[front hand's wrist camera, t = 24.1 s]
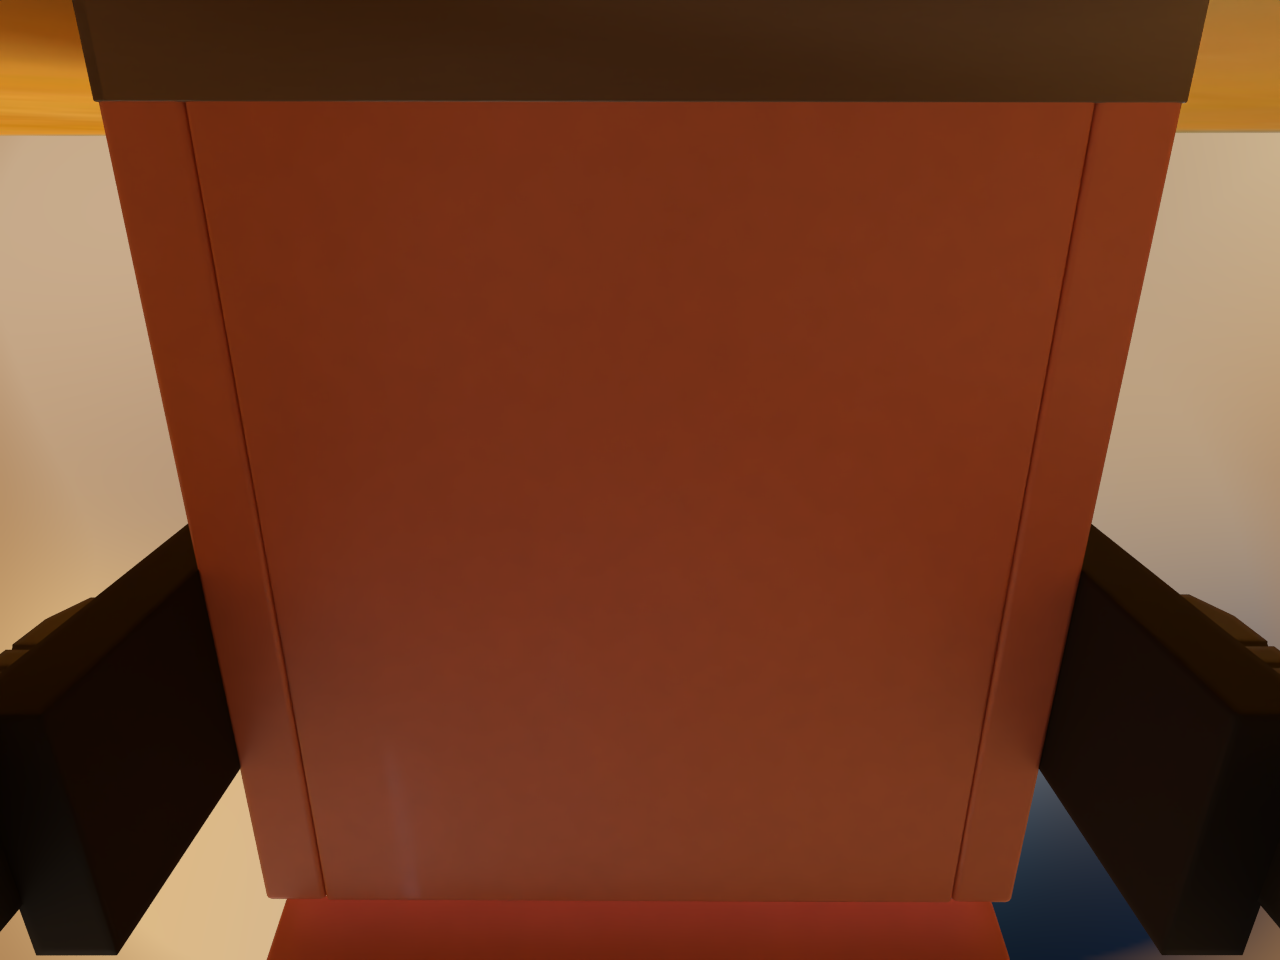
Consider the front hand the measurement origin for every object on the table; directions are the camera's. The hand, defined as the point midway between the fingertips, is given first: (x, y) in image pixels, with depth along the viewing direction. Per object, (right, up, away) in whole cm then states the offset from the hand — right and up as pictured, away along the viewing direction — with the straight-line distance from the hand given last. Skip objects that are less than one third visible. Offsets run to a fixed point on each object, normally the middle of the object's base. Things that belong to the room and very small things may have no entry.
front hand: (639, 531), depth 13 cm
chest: (0, +8, 0) cm, 8 cm away
